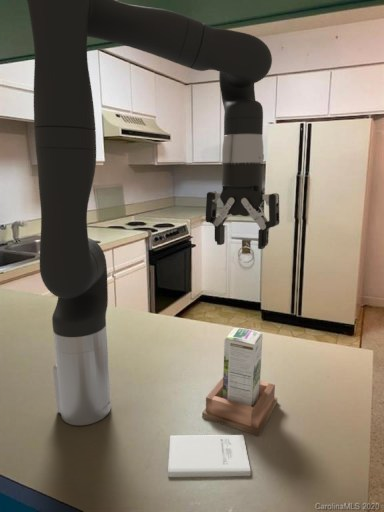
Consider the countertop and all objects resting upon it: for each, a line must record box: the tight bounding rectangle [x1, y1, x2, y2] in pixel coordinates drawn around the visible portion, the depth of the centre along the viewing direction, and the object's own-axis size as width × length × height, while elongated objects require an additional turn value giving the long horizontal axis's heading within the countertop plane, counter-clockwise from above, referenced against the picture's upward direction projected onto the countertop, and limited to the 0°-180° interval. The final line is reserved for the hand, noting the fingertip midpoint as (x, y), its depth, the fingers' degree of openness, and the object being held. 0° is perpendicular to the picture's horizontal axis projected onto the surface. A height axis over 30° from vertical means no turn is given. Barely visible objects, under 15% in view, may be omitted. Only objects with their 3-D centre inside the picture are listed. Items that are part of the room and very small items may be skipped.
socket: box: [201, 377, 278, 437], centre depth 73 cm, size 11×11×4 cm
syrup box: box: [222, 327, 264, 407], centre depth 72 cm, size 6×6×14 cm
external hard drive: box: [167, 434, 251, 478], centre depth 62 cm, size 2×8×12 cm
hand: (240, 246), depth 75 cm, fingers open, 8 cm apart
